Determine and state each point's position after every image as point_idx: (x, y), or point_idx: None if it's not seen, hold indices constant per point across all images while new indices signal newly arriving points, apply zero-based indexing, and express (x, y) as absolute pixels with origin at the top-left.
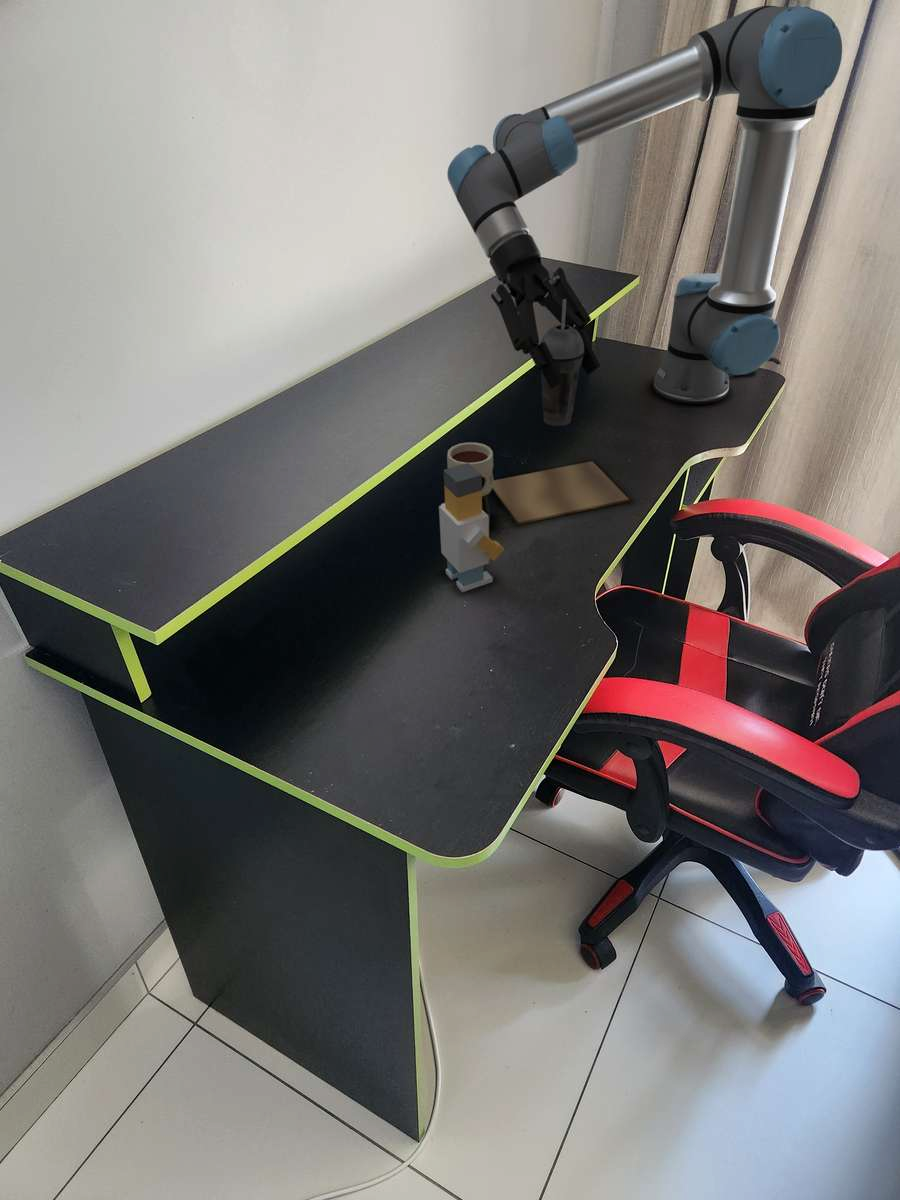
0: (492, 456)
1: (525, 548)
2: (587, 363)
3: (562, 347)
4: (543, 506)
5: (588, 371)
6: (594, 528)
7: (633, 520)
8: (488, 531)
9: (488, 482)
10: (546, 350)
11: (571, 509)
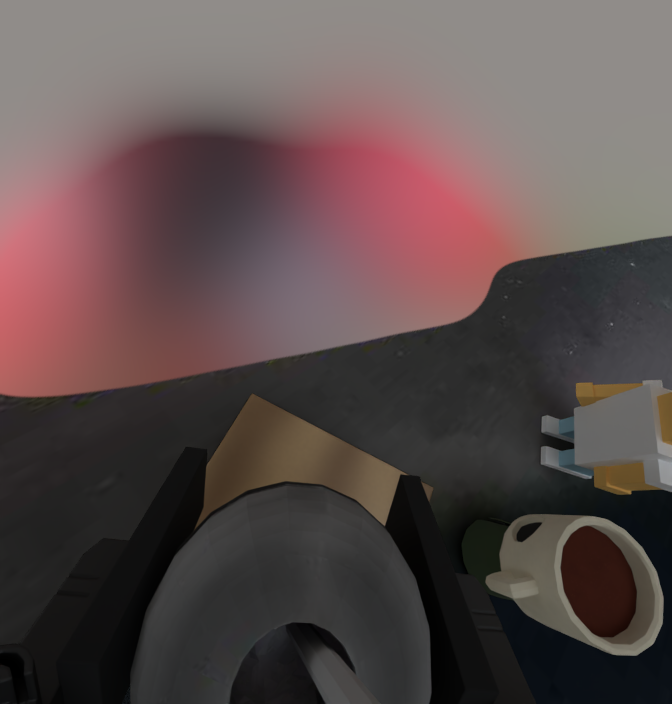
0: (564, 526)
1: (462, 434)
2: (191, 512)
3: (391, 544)
4: (369, 489)
5: (202, 500)
6: (352, 391)
7: (295, 360)
8: (622, 392)
9: (543, 514)
10: (460, 620)
11: (342, 445)
